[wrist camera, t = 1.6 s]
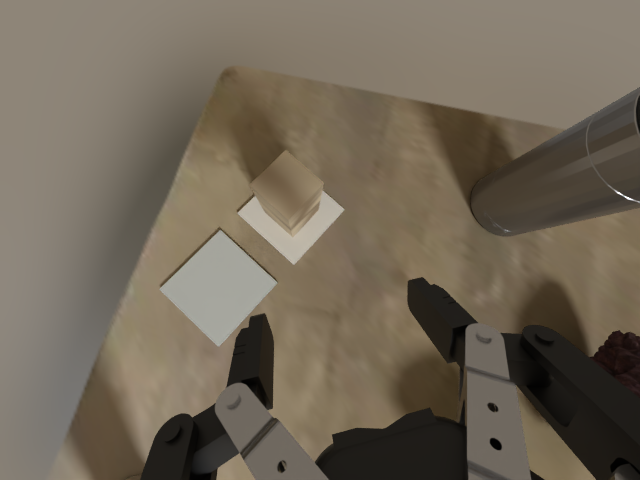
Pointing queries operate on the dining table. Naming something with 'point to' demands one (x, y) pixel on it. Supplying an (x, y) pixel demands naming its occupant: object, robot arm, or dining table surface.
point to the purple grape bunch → (621, 359)
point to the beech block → (288, 192)
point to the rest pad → (218, 287)
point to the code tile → (280, 238)
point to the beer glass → (134, 477)
